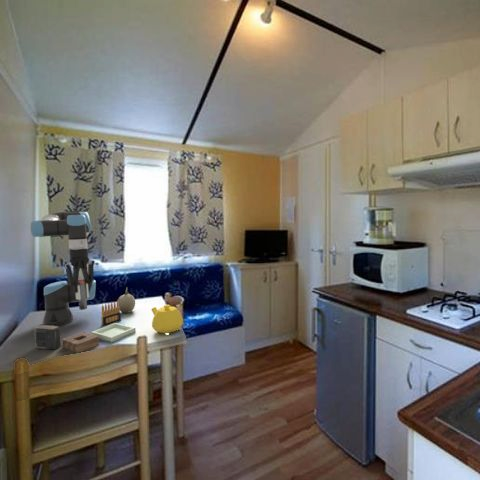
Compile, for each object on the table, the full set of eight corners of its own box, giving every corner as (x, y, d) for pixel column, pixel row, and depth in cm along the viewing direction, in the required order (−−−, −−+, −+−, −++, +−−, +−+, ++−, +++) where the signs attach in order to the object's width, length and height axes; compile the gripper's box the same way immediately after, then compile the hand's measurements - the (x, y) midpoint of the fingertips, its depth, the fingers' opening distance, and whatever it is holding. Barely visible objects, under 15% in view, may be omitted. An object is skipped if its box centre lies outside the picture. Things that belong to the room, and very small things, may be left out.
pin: (78, 309, 135) (75, 281, 134) (84, 307, 137) (82, 280, 136) (81, 310, 133) (79, 282, 132) (88, 308, 136) (86, 280, 135)
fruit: (126, 316, 175) (124, 292, 174) (114, 313, 181) (112, 290, 180) (140, 311, 184) (138, 288, 183) (128, 308, 190) (127, 286, 189)
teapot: (141, 331, 150) (139, 305, 149) (165, 322, 163) (164, 298, 162) (165, 339, 138) (163, 312, 137) (189, 329, 151) (188, 303, 150)
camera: (63, 345, 136) (61, 325, 135) (52, 351, 130) (50, 330, 129) (44, 344, 139) (42, 323, 138) (32, 349, 133) (30, 328, 132)
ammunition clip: (103, 326, 159) (101, 305, 158) (101, 325, 160) (100, 304, 159) (121, 320, 168) (119, 300, 167) (119, 320, 169) (118, 300, 168)
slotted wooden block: (63, 347, 133) (62, 339, 133) (83, 339, 142) (83, 331, 142) (77, 353, 127) (77, 344, 127) (98, 344, 136) (98, 336, 136)
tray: (91, 336, 145) (91, 331, 145) (115, 327, 157) (115, 322, 157) (111, 342, 137) (111, 337, 137) (135, 332, 149) (135, 327, 149)
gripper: (64, 250, 124) (68, 303, 126) (99, 246, 138) (103, 294, 140) (55, 250, 128) (60, 301, 130) (90, 246, 142) (94, 293, 144)
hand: (82, 297), depth 135 cm, fingers closed on pin, 3 cm apart
